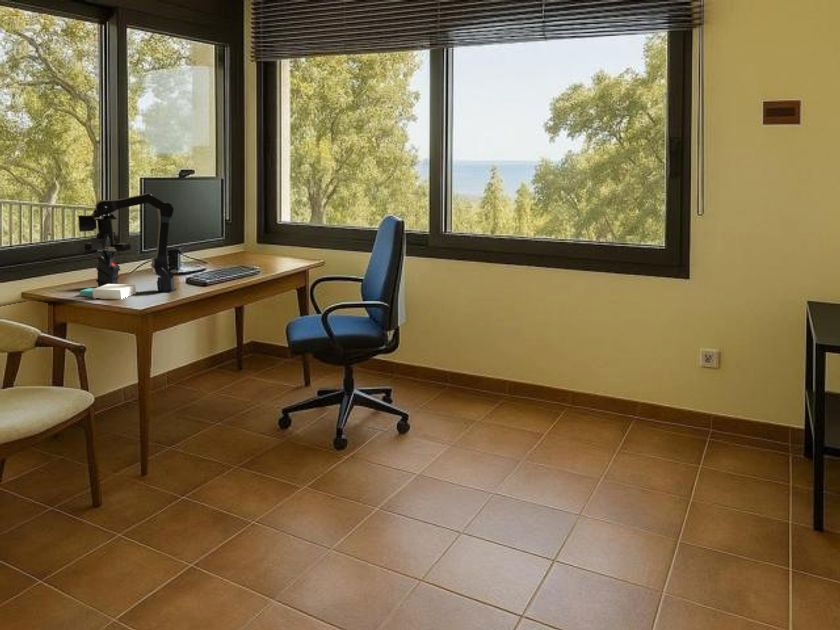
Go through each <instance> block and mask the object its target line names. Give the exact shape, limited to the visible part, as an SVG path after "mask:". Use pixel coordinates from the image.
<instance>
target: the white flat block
mask: <svg viewBox="0 0 840 630" xmlns="http://www.w3.org/2000/svg"><path fill="white" fill-rule="evenodd" d="M92 290H93V297H92V299H96V298H100V299H99V300H124V299H126V298H129V297H131V296H133V294H134V295H136V294H137V288H136V284H127V283H126V284H125V283H122V284H120V283H118V284H107V285H104V286H101V287H98V286H97V287H95V288H94V289H92ZM128 296H129V297H128ZM125 297H126V298H125ZM123 298H124V299H123Z"/></svg>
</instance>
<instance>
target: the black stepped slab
mask: <svg viewBox="0 0 840 630" xmlns="http://www.w3.org/2000/svg"><path fill="white" fill-rule="evenodd" d="M97 260H98V263H97V267H96V270H97V279H96V283H97V288H98V287H101V286H104V285H107V284H119V280H118V279H120V276H119V273H120V271H121V268H120V266H121V265H119V264H117V263H116V261H114V260H113V262H112V264H111V267H108V266H107V264H106V262H105V260H104V258H103V256H102V255H101V254H100V255H99V257H97Z"/></svg>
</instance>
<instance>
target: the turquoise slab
mask: <svg viewBox="0 0 840 630" xmlns="http://www.w3.org/2000/svg"><path fill="white" fill-rule="evenodd" d="M92 289H95V288H91V287H89V288H85V289H82V290H79V292H80V293H79V294H81V296H93V290H92Z"/></svg>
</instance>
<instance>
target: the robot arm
mask: <svg viewBox="0 0 840 630" xmlns="http://www.w3.org/2000/svg"><path fill="white" fill-rule="evenodd" d="M143 204H149V205H150V206H152V207H154V208H156V210H157V216H158V223H159V224H158V234H157V235H158V236H157V243H156V245H157V246H156V253H155V256H154V257H153V256H152V257H151V264H150V267H151V268H152V271H153V272H154V273H155V274H157V275H158V277H157V281H156V286H157V288H156V289H157V290H156V292H158V293H172V292H174V291H177V288H175V277H174V275H175V274H174V273H173V272H172V271H171V270H170V269H169V264H168V259H167V258H168V257H167V251H168V239H169V230H170V229H169V228H170V223H171V221H172V220H171V219H172V218H173V214H174V212H175V211H174V210H175V209H174V206H173V205H172V204H171V203H170V202H167V201H163V200H160V199H158V198H156V197H155V196H153V194H151V193H149V192H146V193H143V194H139V195H134V196H130V197H125V198H119V199H101V200H98V201H97V202H96V203H95V209H94V210H93V212H92V214H90V215H89V214H88V215H81V214H80V215H78V216H77V218H78V221H77V222H78V223H77V225H78V231H79V233H80V232H81V233H82V232H85V233H86V232H95V230H96V229H98V232H97V233H96V238H94V239H93V240H92V241H89V242H86V243H84V245H83V251H92V250H93V251H96V250H97V251H96V253H98V254H100V255H102V256H103V258H104V260H105V262H106V264H107V266H108V267H111V264H112V262H113V261H114V258H115V256H116V254H117V253H118V252H124V251H125V252H126V251H130V250H132V248H131V247H132V245H131V244H130V242H120V243H116V242H117V241H115V238H114V235H116V231H114V227H113V220H117V219H118V218H117V217H116V216H115V215H114V214H113V213H114V212H115V211H116V212H117V211H118V210H121V209H125V208H130V207H134V206H139V205H143ZM101 216H102V217H101Z"/></svg>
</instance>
